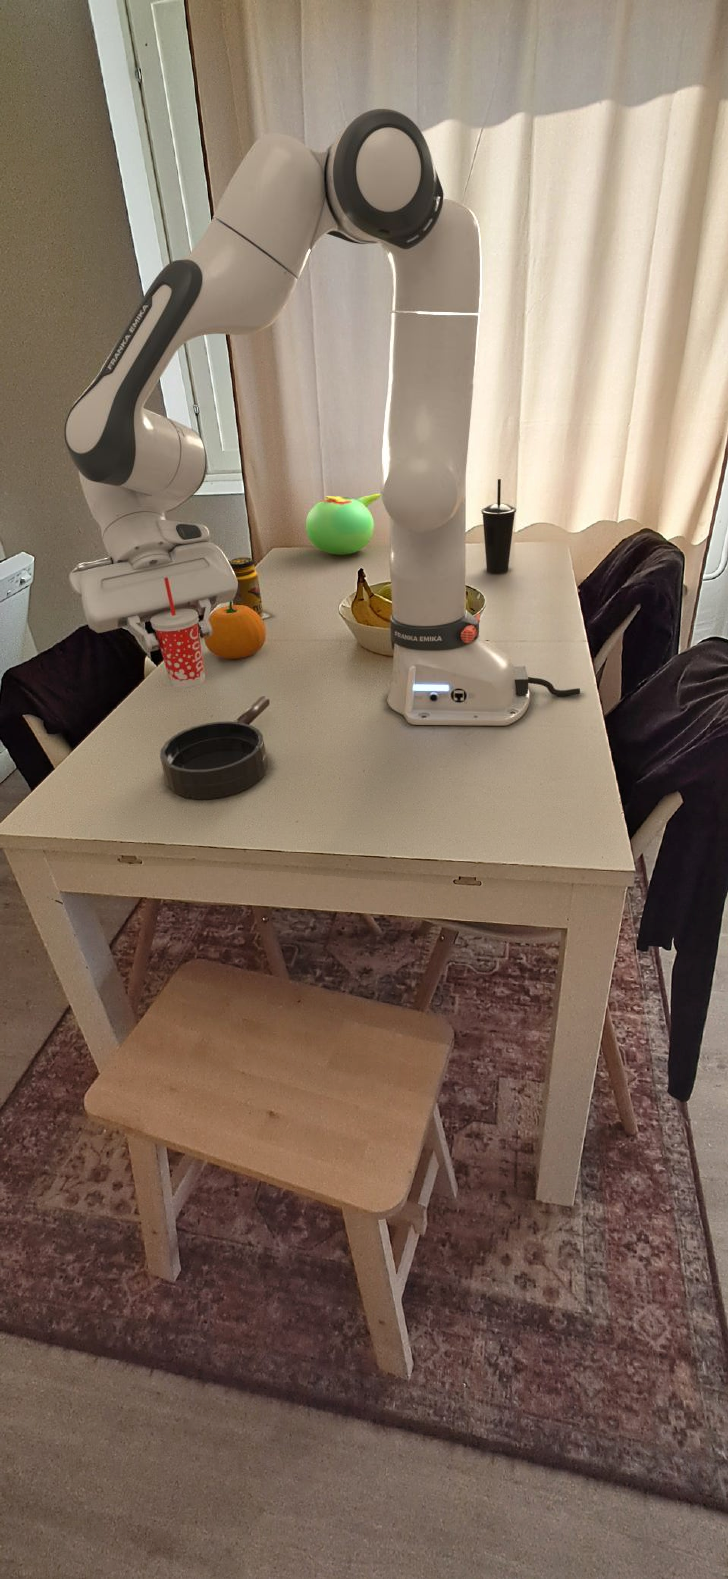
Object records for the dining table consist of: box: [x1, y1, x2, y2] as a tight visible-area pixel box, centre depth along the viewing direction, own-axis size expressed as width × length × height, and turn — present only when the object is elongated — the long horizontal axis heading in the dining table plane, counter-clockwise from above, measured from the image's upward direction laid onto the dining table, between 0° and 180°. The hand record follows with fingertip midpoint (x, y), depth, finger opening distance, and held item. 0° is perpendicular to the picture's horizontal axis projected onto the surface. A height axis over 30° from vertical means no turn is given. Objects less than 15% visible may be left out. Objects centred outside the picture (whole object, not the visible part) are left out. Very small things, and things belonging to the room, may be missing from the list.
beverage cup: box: [149, 578, 206, 689], centre depth 99 cm, size 6×6×14 cm
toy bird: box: [305, 493, 382, 556], centre depth 196 cm, size 18×17×15 cm
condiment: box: [228, 556, 271, 620], centre depth 160 cm, size 7×8×12 cm
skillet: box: [159, 721, 269, 800], centre depth 107 cm, size 14×14×4 cm
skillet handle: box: [230, 695, 271, 733], centre depth 115 cm, size 10×2×2 cm, turn 160°
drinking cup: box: [480, 478, 517, 575], centre depth 172 cm, size 8×8×20 cm
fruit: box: [203, 601, 267, 660], centre depth 144 cm, size 12×12×10 cm
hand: (181, 642), depth 100 cm, fingers closed on beverage cup, 6 cm apart
